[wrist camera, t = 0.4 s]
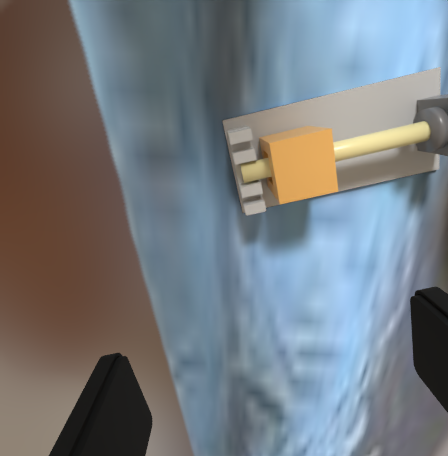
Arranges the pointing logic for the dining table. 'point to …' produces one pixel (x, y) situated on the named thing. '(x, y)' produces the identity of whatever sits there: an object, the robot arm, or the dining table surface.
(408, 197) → the dining table surface
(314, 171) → the sleeve
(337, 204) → the dining table surface
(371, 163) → the rail
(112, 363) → the robot arm
